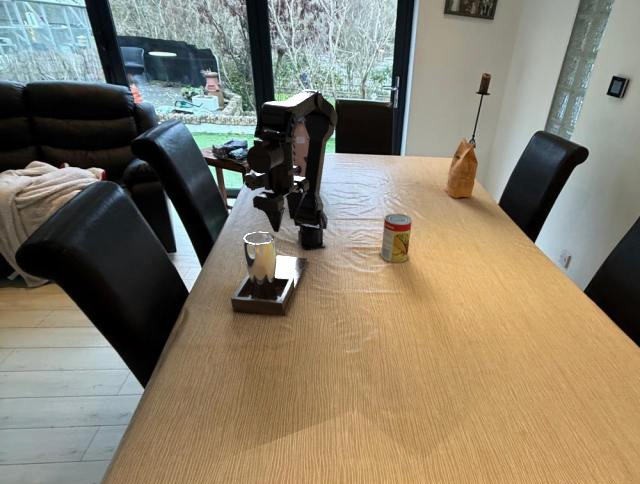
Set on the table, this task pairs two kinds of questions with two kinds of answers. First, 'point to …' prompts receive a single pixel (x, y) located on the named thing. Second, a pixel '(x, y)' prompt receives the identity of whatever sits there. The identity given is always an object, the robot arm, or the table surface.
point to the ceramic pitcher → (300, 148)
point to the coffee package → (462, 171)
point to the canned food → (396, 237)
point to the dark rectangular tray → (285, 284)
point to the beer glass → (261, 264)
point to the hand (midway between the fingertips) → (284, 225)
